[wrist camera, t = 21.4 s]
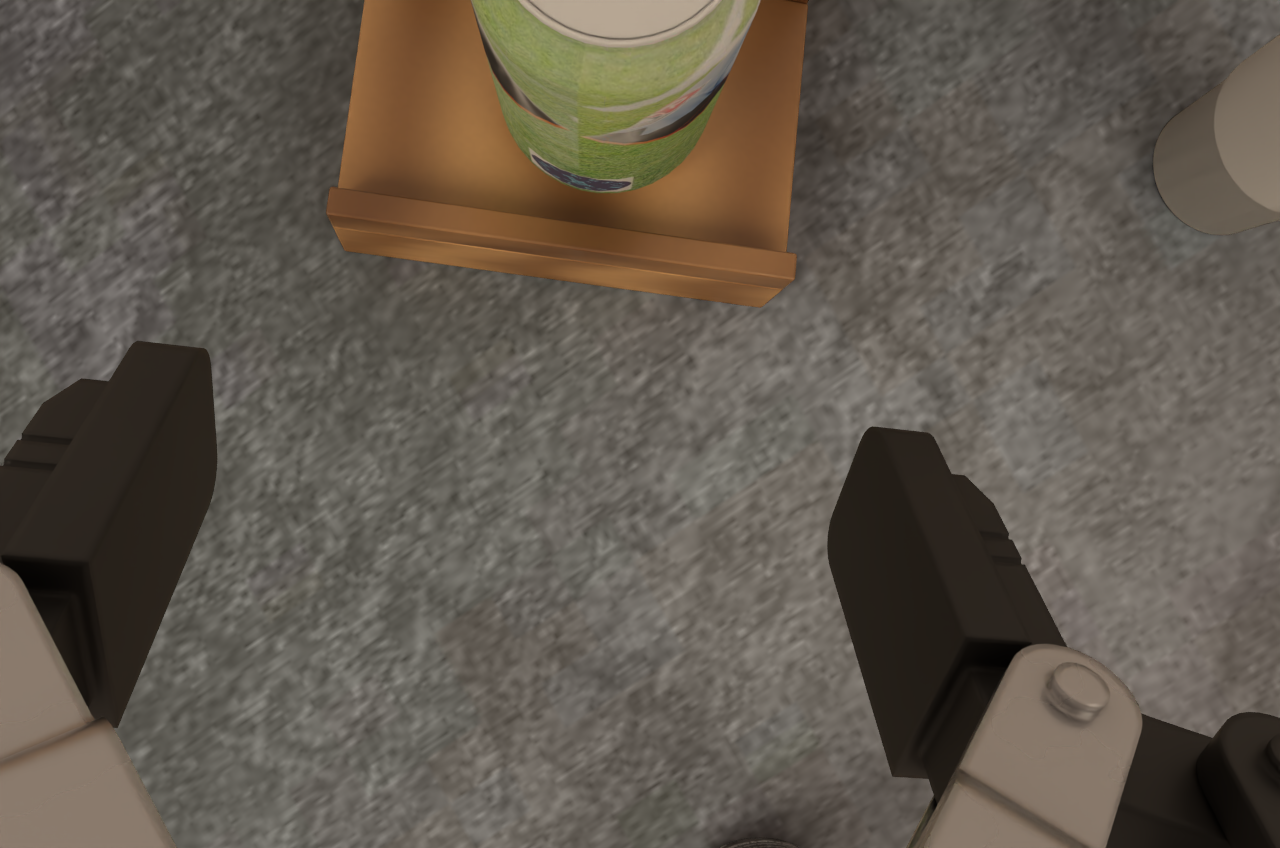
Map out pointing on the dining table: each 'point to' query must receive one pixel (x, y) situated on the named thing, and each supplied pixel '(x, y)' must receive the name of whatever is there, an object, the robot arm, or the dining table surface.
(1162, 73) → the dining table surface
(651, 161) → the beverage can
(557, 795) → the dining table surface
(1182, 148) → the cup
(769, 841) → the pill bottle
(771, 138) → the wooden step stand
